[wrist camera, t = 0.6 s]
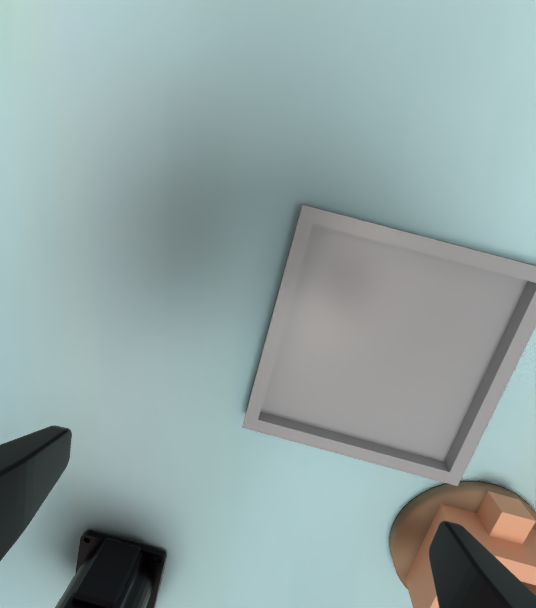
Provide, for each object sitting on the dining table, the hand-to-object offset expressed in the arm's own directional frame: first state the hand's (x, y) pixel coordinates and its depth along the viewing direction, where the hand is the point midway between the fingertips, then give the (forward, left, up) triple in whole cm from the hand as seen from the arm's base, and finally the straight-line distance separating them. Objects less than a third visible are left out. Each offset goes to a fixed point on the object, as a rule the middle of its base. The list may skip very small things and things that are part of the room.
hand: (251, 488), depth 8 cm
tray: (0, -6, -14) cm, 15 cm away
